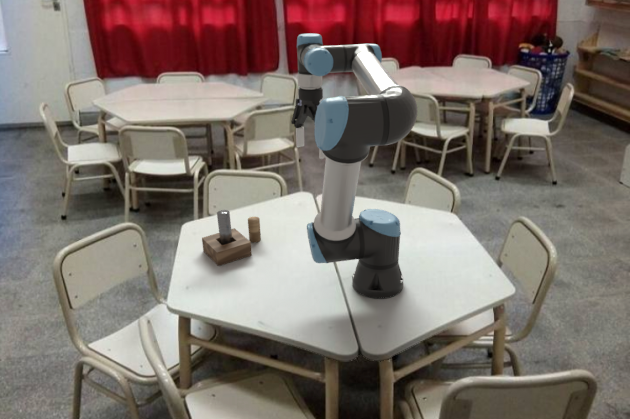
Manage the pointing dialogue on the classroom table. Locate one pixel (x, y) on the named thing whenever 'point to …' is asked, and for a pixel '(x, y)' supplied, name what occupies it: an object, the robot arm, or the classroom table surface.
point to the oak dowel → (254, 229)
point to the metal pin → (224, 227)
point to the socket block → (227, 248)
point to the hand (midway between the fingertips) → (311, 152)
